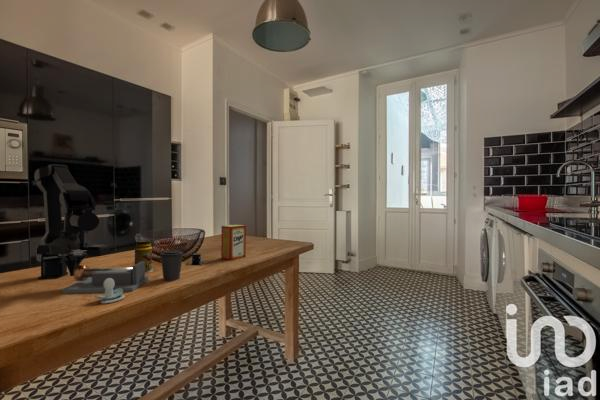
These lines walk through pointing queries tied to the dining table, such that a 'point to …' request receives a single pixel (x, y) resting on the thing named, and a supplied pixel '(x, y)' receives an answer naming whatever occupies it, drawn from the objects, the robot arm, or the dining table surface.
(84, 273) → the shaft
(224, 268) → the dining table surface
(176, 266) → the coffee cup
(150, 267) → the condiment
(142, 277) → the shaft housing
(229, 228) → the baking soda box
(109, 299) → the pacifier
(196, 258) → the black block
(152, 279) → the dining table surface
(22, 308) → the dining table surface
